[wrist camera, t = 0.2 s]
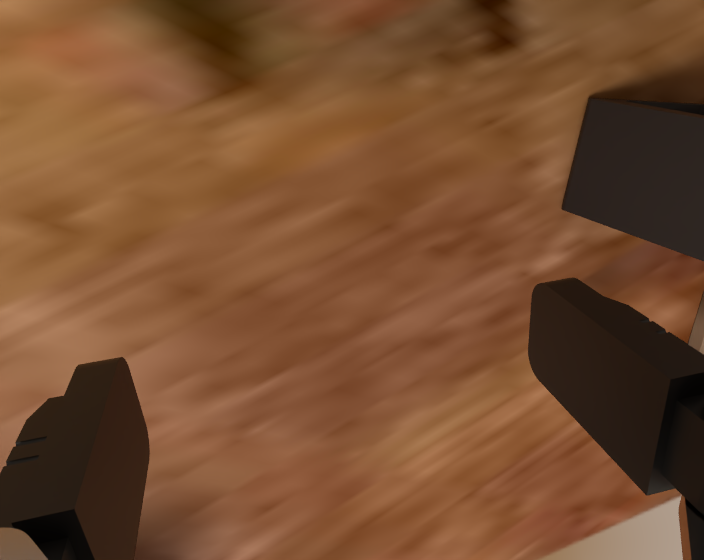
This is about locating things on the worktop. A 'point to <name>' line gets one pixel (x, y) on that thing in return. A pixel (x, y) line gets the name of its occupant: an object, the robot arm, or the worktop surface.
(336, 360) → the worktop surface
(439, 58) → the worktop surface
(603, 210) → the phone stand
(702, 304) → the collar stand
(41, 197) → the worktop surface
